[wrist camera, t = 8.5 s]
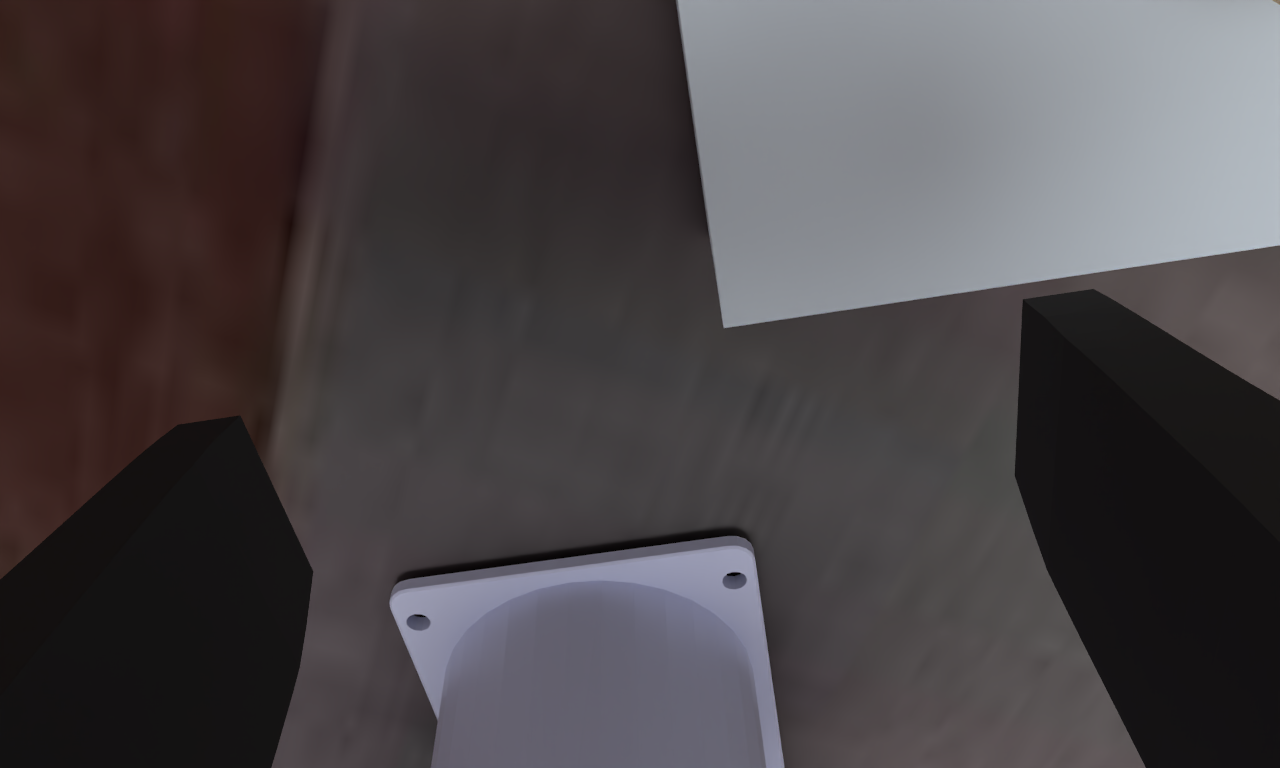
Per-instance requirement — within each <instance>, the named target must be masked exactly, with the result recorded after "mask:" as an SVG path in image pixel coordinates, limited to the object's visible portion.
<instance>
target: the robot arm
mask: <svg viewBox="0 0 1280 768" xmlns="http://www.w3.org/2000/svg"><path fill="white" fill-rule="evenodd" d="M1015 477H1016V480H1017V483H1018V486H1019V490H1020V493H1021V496H1022V499H1023V502H1024V505H1025V508H1026V511H1027V514H1028V517H1029V520H1030V523H1031V526H1032V529H1033V532H1034V534H1035V537H1036V540H1037V543H1038V546H1039V548H1040V551H1041V554H1042V557H1043V560H1044V562H1045V565H1046V568H1047V571H1048V573H1049V575H1050V577H1051V579H1052V581H1053V583H1054V585H1055V587H1056V589H1057V591H1058V593H1059V595H1060V597H1061V599H1062V601H1063V603H1064V605H1065V607H1066V610H1067V612H1068V614H1069V616H1070V618H1071V620H1072V622H1073V624H1074V626H1075V628H1076V630H1077V632H1078V634H1079V636H1080V638H1081V640H1082V642H1083V644H1084V646H1085V648H1086V650H1087V652H1088V654H1089V656H1090V658H1091V660H1092V662H1093V664H1094V666H1095V668H1096V670H1097V672H1098V674H1099V675H1100V677H1101V679H1102V681H1103V683H1104V685H1105V687H1106V689H1107V691H1108V693H1109V695H1110V697H1111V699H1112V701H1113V703H1114V705H1115V707H1116V709H1117V711H1118V713H1119V715H1120V717H1121V719H1122V721H1123V723H1124V725H1125V727H1126V729H1127V731H1128V733H1129V735H1130V737H1131V739H1132V741H1133V743H1134V745H1135V747H1136V749H1137V751H1138V753H1139V755H1140V757H1141V759H1142V761H1143V763H1144V765H1145V767H1146V768H1280V400H1278V399H1276V398H1274V397H1273V396H1271V395H1269V394H1267V393H1266V392H1264V391H1262V390H1261V389H1259V388H1257V387H1256V386H1254V385H1252V384H1250V383H1249V382H1247V381H1245V380H1244V379H1242V378H1240V377H1239V376H1237V375H1235V374H1234V373H1232V372H1230V371H1229V370H1227V369H1225V368H1224V367H1222V366H1220V365H1219V364H1217V363H1215V362H1214V361H1212V360H1210V359H1209V358H1207V357H1205V356H1204V355H1202V354H1201V353H1199V352H1197V351H1196V350H1194V349H1192V348H1191V347H1189V346H1188V345H1186V344H1184V343H1183V342H1181V341H1179V340H1178V339H1176V338H1175V337H1173V336H1171V335H1170V334H1168V333H1167V332H1165V331H1163V330H1162V329H1160V328H1158V327H1157V326H1155V325H1154V324H1152V323H1150V322H1149V321H1147V320H1145V319H1144V318H1142V317H1141V316H1139V315H1137V314H1136V313H1134V312H1132V311H1131V310H1129V309H1127V308H1126V307H1124V306H1122V305H1121V304H1119V303H1117V302H1116V301H1114V300H1112V299H1110V298H1109V297H1107V296H1105V295H1103V294H1101V293H1100V292H1098V291H1096V290H1094V289H1091V290H1084V291H1077V292H1070V293H1064V294H1057V295H1050V296H1043V297H1037V298H1030V299H1023V307H1022V329H1021V351H1020V373H1019V395H1018V417H1017V439H1016V461H1015ZM731 572H740V573H741V574H739V575H736V576H727V574H728V573H731ZM312 576H313V570H312V568H311V566H310V564H309V562H308V559H307V557H306V555H305V553H304V551H303V549H302V547H301V544H300V542H299V540H298V538H297V536H296V534H295V532H294V530H293V527H292V525H291V523H290V521H289V519H288V517H287V515H286V512H285V510H284V508H283V506H282V504H281V502H280V500H279V497H278V495H277V493H276V491H275V489H274V487H273V485H272V483H271V480H270V478H269V476H268V474H267V472H266V470H265V468H264V465H263V463H262V461H261V459H260V457H259V455H258V453H257V450H256V448H255V446H254V444H253V442H252V440H251V438H250V436H249V433H248V431H247V429H246V427H245V425H244V423H243V421H242V418H241V416H234V417H227V418H221V419H214V420H207V421H200V422H194V423H187V424H180V425H177V426H176V427H174V428H173V429H172V430H170V431H169V432H168V433H166V434H165V435H164V436H162V437H161V438H160V439H159V440H157V441H156V442H155V443H154V444H152V445H151V446H150V447H149V448H148V449H146V450H145V451H144V452H143V453H142V454H140V455H139V456H138V457H137V458H136V459H135V460H133V461H132V462H131V463H130V464H129V465H128V466H127V467H125V468H124V469H123V470H122V471H121V472H120V473H119V474H117V475H116V476H115V477H114V478H113V479H112V480H111V481H110V482H109V483H107V484H106V485H105V486H104V487H103V488H102V489H101V490H100V491H98V492H97V493H96V494H95V495H94V496H93V497H92V498H91V499H90V500H89V501H87V502H86V503H85V504H84V505H83V506H82V507H81V508H80V509H79V510H78V511H76V512H75V513H74V514H73V515H72V516H71V517H70V518H69V519H67V520H66V521H65V522H64V523H63V524H62V525H61V526H60V527H59V528H57V529H56V530H55V531H54V532H53V533H52V534H51V535H50V536H49V537H47V538H46V539H45V540H44V541H43V542H42V543H41V544H40V545H39V546H37V547H36V548H35V549H34V550H33V551H32V552H31V553H30V554H28V555H27V556H26V557H25V558H24V559H23V560H22V561H21V562H20V563H18V564H17V565H16V566H15V567H14V568H13V569H12V570H11V571H10V572H8V573H7V574H6V575H5V576H4V577H3V578H2V579H0V768H271V767H272V763H273V760H274V756H275V753H276V750H277V746H278V743H279V739H280V736H281V732H282V729H283V725H284V722H285V718H286V715H287V711H288V708H289V704H290V701H291V697H292V694H293V690H294V686H295V683H296V679H297V675H298V672H299V668H300V662H301V656H302V650H303V643H304V637H305V631H306V625H307V617H308V609H309V601H310V593H311V584H312ZM389 603H390V609H391V611H392V614H393V616H394V618H395V621H396V623H397V625H398V628H399V630H400V633H401V635H402V637H403V640H404V642H405V644H406V647H407V649H408V651H409V654H410V656H411V659H412V661H413V663H414V666H415V668H416V670H417V673H418V675H419V677H420V680H421V682H422V685H423V687H424V689H425V692H426V694H427V696H428V699H429V701H430V703H431V706H432V708H433V711H434V713H435V715H436V718H437V720H438V724H437V730H436V737H435V743H434V750H433V757H432V763H431V768H785V767H784V760H783V753H782V746H781V739H780V732H779V725H778V718H777V711H776V704H775V697H774V690H773V682H772V675H771V668H770V661H769V654H768V647H767V640H766V633H765V626H764V619H763V612H762V605H761V598H760V590H759V583H758V576H757V569H756V562H755V555H754V549H753V547H752V545H751V543H750V542H749V541H747V540H746V539H745V538H742V537H739V536H724V537H716V538H709V539H701V540H694V541H687V542H679V543H672V544H664V545H657V546H650V547H642V548H635V549H627V550H620V551H613V552H605V553H598V554H590V555H583V556H576V557H568V558H561V559H554V560H546V561H539V562H531V563H524V564H517V565H509V566H502V567H494V568H487V569H480V570H472V571H465V572H457V573H450V574H443V575H435V576H428V577H421V578H413V579H407V580H404V581H400V582H399V583H398V584H396V585H395V586H394V588H393V590H392V592H391V597H390V601H389ZM414 614H421V615H424V616H426V617H417V616H415V615H414Z"/></svg>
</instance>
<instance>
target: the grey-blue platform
mask: <svg viewBox="0 0 1280 768" xmlns="http://www.w3.org/2000/svg"><path fill="white" fill-rule="evenodd" d="M676 5H677V12H678V19H679V27H680V34H681V41H682V48H683V55H684V62H685V69H686V76H687V83H688V90H689V97H690V104H691V111H692V118H693V125H694V133H695V140H696V147H697V154H698V161H699V168H700V175H701V182H702V189H703V196H704V203H705V210H706V217H707V224H708V232H709V238H710V245H711V251H712V257H713V264H714V270H715V276H716V282H717V289H718V295H719V301H720V307H721V314H722V320H723V326H724V328H729V327H735V326H742V325H749V324H755V323H762V322H769V321H775V320H782V319H789V318H795V317H802V316H809V315H816V314H822V313H829V312H836V311H842V310H849V309H856V308H862V307H869V306H876V305H883V304H889V303H896V302H903V301H909V300H916V299H923V298H929V297H936V296H943V295H950V294H956V293H963V292H970V291H976V290H983V289H990V288H996V287H1003V286H1010V285H1017V284H1023V283H1030V282H1037V281H1043V280H1050V279H1057V278H1063V277H1070V276H1077V275H1083V274H1090V273H1097V272H1104V271H1110V270H1117V269H1124V268H1130V267H1137V266H1144V265H1150V264H1157V263H1164V262H1171V261H1177V260H1184V259H1191V258H1197V257H1204V256H1211V255H1217V254H1224V253H1231V252H1238V251H1244V250H1251V249H1258V248H1264V247H1271V246H1278V245H1280V5H1279V4H1277V3H1276V2H1274V1H1273V0H676Z"/></svg>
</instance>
